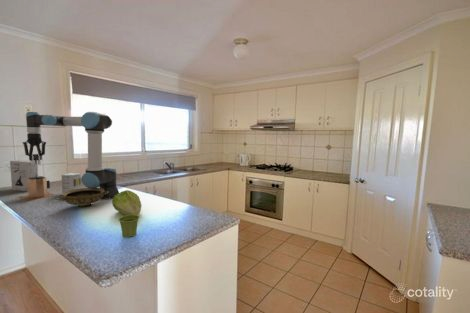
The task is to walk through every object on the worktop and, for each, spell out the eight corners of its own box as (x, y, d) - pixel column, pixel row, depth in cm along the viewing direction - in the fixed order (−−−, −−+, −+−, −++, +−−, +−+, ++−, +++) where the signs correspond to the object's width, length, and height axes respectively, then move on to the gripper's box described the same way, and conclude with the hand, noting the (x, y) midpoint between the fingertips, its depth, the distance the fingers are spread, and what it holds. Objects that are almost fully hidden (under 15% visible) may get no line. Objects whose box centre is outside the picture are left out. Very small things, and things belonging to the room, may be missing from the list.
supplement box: (73, 196, 176) (72, 175, 175) (61, 195, 177) (60, 174, 175) (81, 193, 186) (81, 173, 184) (71, 192, 186) (70, 172, 185)
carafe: (52, 195, 173) (51, 176, 172) (31, 199, 163) (30, 178, 161) (47, 193, 178) (46, 175, 177) (26, 196, 168) (25, 177, 166)
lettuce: (119, 212, 124) (143, 195, 132) (105, 197, 140) (127, 183, 148) (131, 229, 131) (153, 212, 139) (117, 213, 147) (137, 199, 155)
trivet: (57, 197, 173) (57, 195, 173) (27, 202, 157) (26, 201, 157) (47, 193, 182) (47, 192, 182) (17, 198, 166) (17, 197, 166)
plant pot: (142, 230, 116) (142, 214, 115) (135, 239, 106) (134, 221, 105) (124, 230, 115) (123, 214, 115) (115, 239, 106) (114, 221, 105)
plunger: (45, 185, 170) (43, 154, 168) (32, 186, 164) (31, 154, 162) (41, 183, 174) (39, 153, 171) (29, 185, 167) (27, 154, 165)
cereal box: (11, 189, 193) (9, 160, 191) (22, 187, 200) (20, 159, 198) (29, 191, 187) (27, 162, 184) (39, 189, 194) (37, 161, 192)
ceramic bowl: (60, 215, 135) (59, 199, 134) (54, 206, 151) (53, 191, 151) (114, 205, 156) (114, 191, 155) (104, 198, 173) (103, 185, 172)
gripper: (45, 133, 174) (47, 163, 176) (17, 132, 160) (19, 165, 162) (49, 133, 170) (51, 164, 172) (21, 133, 156) (23, 166, 158)
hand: (35, 164), depth 167 cm, fingers closed on plunger, 3 cm apart
